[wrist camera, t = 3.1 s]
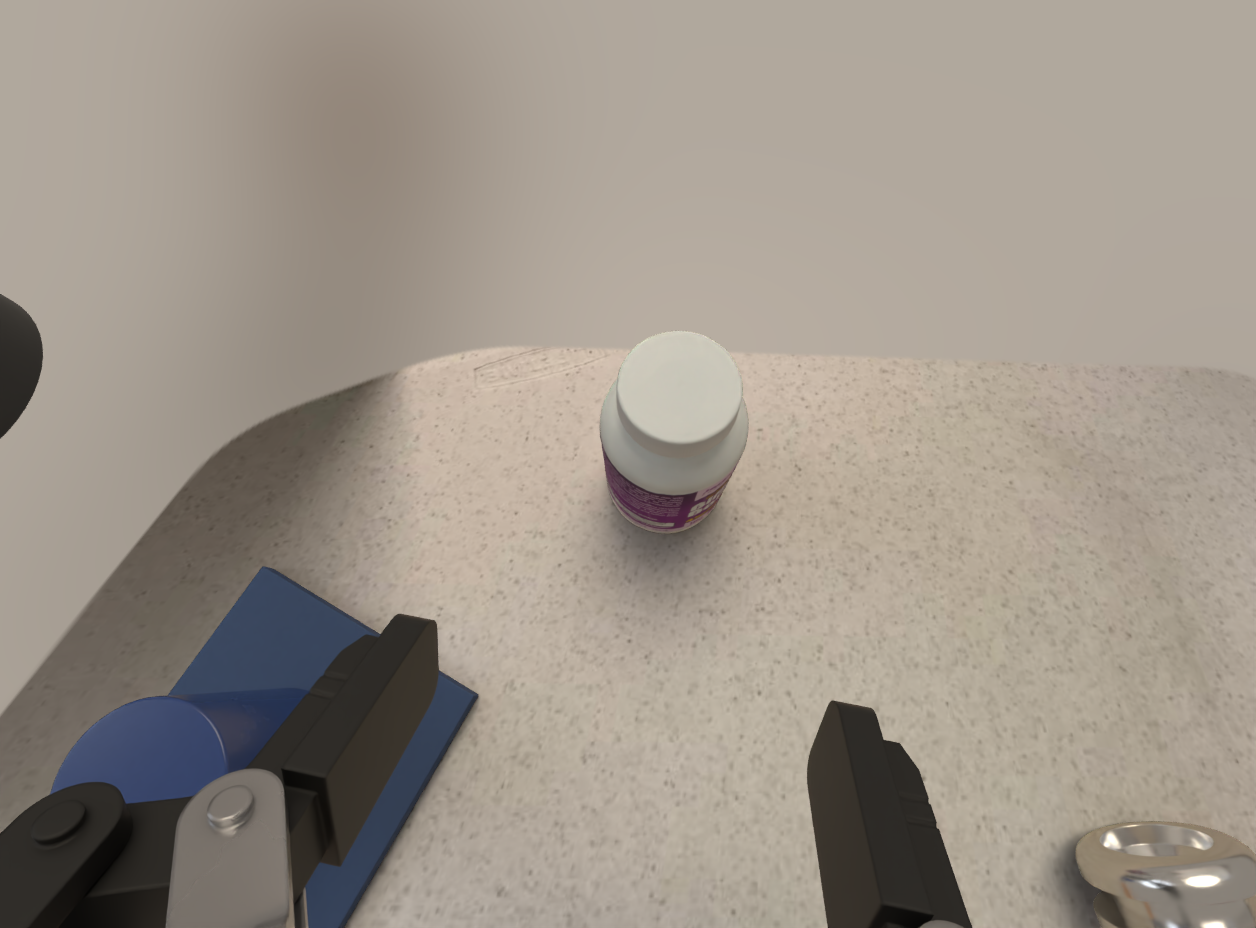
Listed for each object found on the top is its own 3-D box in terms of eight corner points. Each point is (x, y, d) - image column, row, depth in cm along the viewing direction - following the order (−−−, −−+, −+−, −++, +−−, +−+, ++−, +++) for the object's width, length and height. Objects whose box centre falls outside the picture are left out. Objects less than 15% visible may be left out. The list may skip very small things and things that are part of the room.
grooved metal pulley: (1071, 926, 22) (1193, 999, 17) (1038, 835, 23) (1144, 879, 18) (1198, 896, 22) (1354, 960, 17) (1160, 807, 23) (1298, 844, 18)
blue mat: (93, 814, 23) (75, 819, 23) (273, 568, 26) (262, 565, 26) (313, 979, 21) (301, 991, 21) (479, 694, 24) (474, 695, 24)
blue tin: (188, 784, 23) (5, 832, 16) (271, 664, 24) (134, 664, 18) (289, 856, 22) (139, 938, 15) (369, 728, 23) (263, 753, 17)
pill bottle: (706, 550, 26) (744, 489, 17) (593, 517, 27) (571, 441, 18) (734, 441, 28) (782, 333, 19) (626, 413, 28) (622, 294, 19)
